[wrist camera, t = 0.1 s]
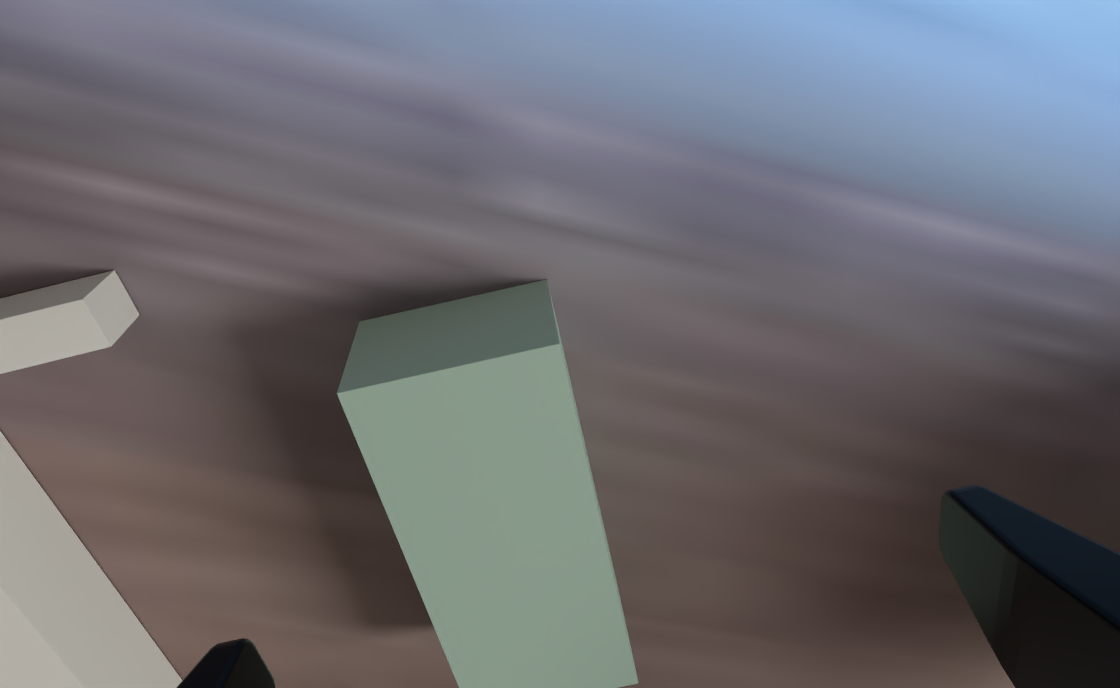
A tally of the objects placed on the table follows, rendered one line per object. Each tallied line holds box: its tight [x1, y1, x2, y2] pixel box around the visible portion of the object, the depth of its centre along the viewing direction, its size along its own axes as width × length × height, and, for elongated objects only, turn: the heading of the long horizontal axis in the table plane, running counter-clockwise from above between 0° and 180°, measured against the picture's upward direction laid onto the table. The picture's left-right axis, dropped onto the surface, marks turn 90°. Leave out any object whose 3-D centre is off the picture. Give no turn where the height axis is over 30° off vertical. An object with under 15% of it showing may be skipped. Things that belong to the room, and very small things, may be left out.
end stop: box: [0, 270, 182, 688], centre depth 26 cm, size 21×9×4 cm, turn 13°
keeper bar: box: [337, 279, 638, 688], centre depth 25 cm, size 14×6×4 cm, turn 12°
